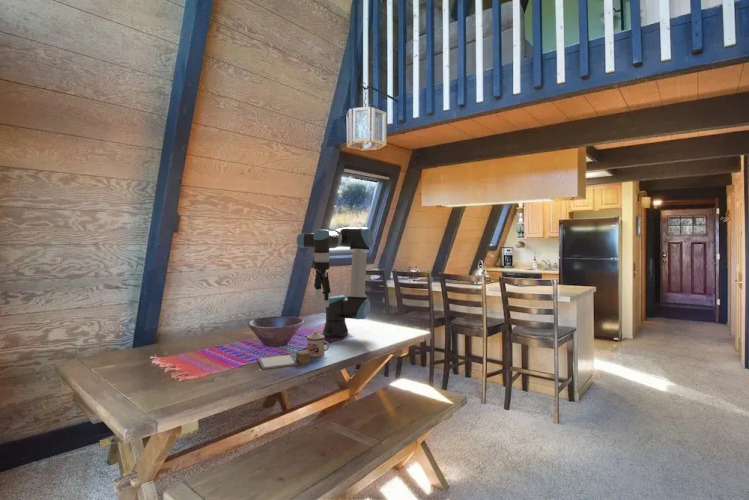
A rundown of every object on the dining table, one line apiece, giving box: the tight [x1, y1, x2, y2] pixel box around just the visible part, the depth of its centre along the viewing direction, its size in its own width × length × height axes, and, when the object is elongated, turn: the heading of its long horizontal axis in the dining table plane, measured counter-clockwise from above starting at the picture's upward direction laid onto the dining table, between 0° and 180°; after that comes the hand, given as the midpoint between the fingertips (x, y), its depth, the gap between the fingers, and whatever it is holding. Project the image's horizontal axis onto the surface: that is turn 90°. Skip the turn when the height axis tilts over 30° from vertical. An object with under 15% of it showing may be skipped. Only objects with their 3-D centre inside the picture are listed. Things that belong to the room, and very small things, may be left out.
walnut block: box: [295, 349, 311, 365], centre depth 195 cm, size 5×5×5 cm
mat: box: [257, 353, 299, 370], centre depth 196 cm, size 16×16×1 cm
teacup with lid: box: [306, 330, 330, 358], centre depth 208 cm, size 12×9×12 cm
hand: (322, 304), depth 203 cm, fingers open, 13 cm apart
